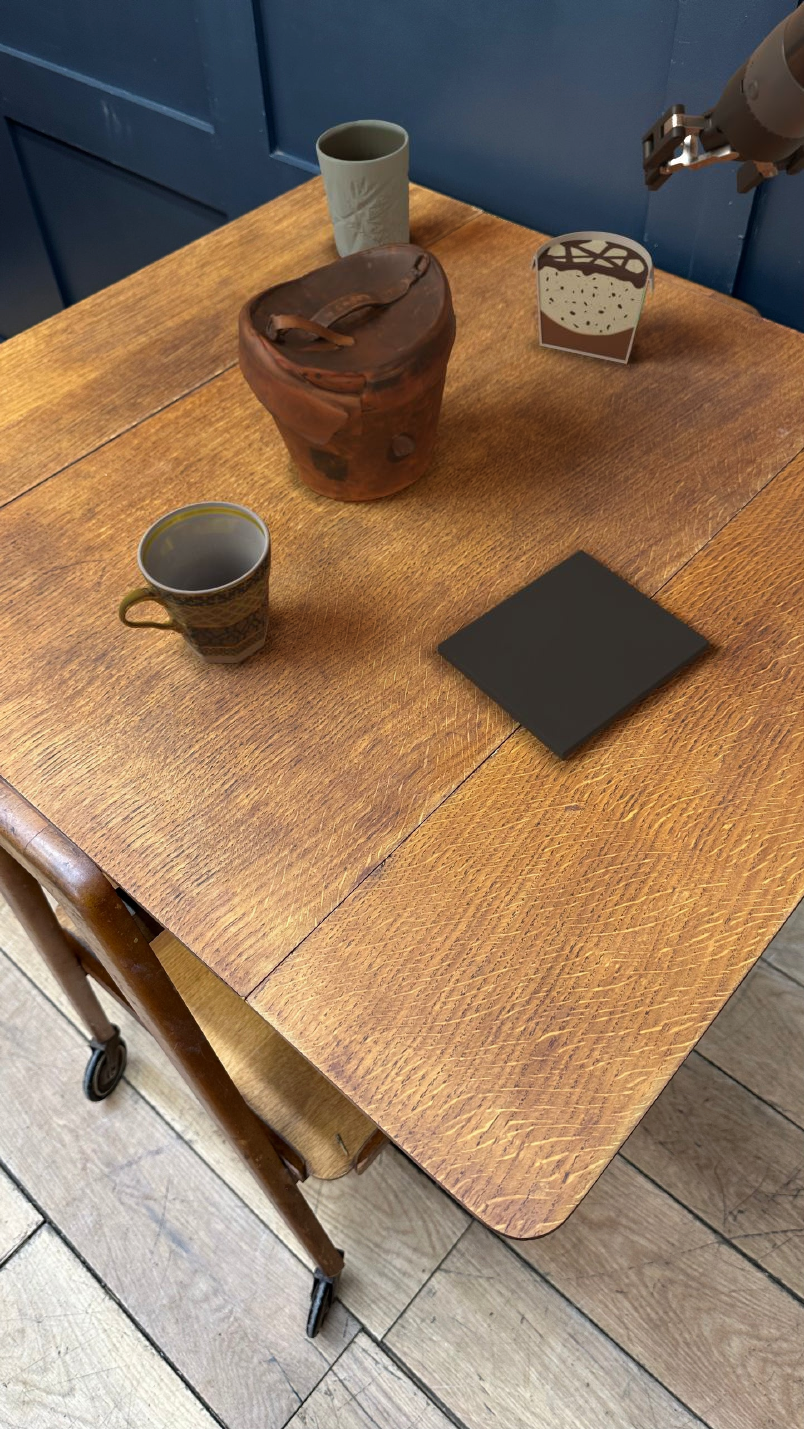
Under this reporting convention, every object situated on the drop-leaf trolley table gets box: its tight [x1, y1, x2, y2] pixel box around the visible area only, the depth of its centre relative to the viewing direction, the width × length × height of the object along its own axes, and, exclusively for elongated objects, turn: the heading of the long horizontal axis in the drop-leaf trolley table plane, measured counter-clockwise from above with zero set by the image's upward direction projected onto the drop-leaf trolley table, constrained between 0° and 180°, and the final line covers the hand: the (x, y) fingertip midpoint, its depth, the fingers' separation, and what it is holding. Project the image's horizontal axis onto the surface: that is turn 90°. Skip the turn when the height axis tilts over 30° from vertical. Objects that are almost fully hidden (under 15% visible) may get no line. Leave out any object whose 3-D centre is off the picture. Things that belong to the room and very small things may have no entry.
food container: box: [529, 231, 656, 365], centre depth 103 cm, size 12×6×10 cm, turn 65°
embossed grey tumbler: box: [315, 119, 410, 258], centre depth 116 cm, size 10×10×12 cm
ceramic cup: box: [118, 500, 272, 664], centre depth 80 cm, size 13×10×10 cm
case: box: [237, 242, 457, 502], centre depth 90 cm, size 18×20×18 cm
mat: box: [437, 549, 711, 761], centre depth 81 cm, size 16×14×1 cm
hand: (695, 181), depth 92 cm, fingers open, 8 cm apart
